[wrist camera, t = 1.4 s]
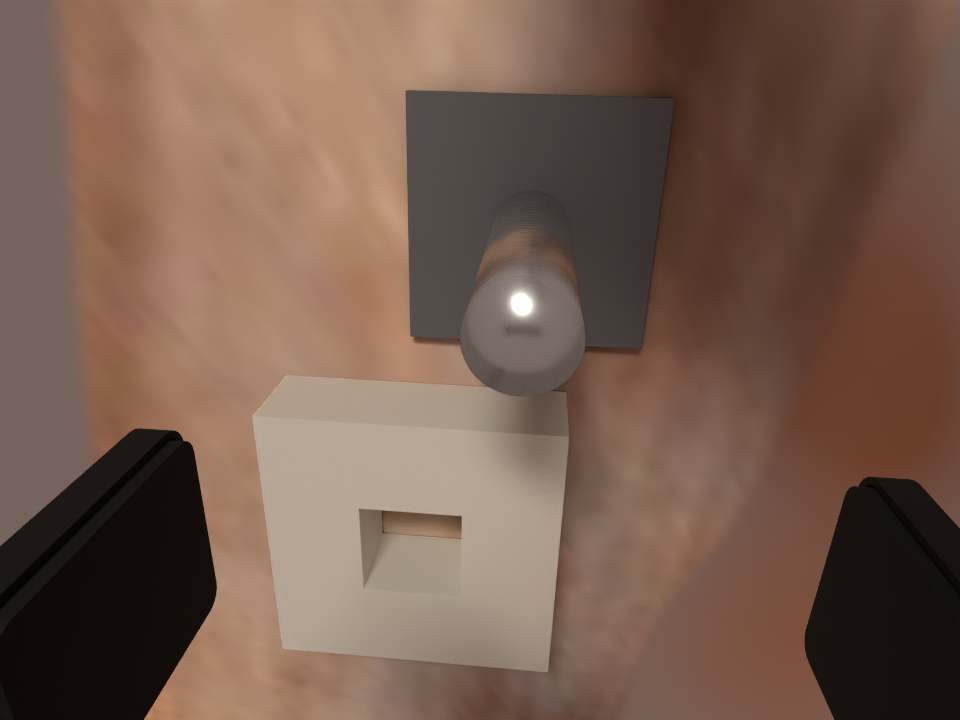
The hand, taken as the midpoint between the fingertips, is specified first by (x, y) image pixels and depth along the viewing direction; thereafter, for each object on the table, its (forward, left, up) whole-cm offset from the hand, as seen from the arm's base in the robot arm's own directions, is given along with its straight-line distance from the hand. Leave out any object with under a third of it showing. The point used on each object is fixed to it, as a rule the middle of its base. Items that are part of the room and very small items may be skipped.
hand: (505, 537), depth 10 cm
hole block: (+14, -4, -20) cm, 24 cm away
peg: (0, 0, -19) cm, 19 cm away
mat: (0, 0, -20) cm, 20 cm away
